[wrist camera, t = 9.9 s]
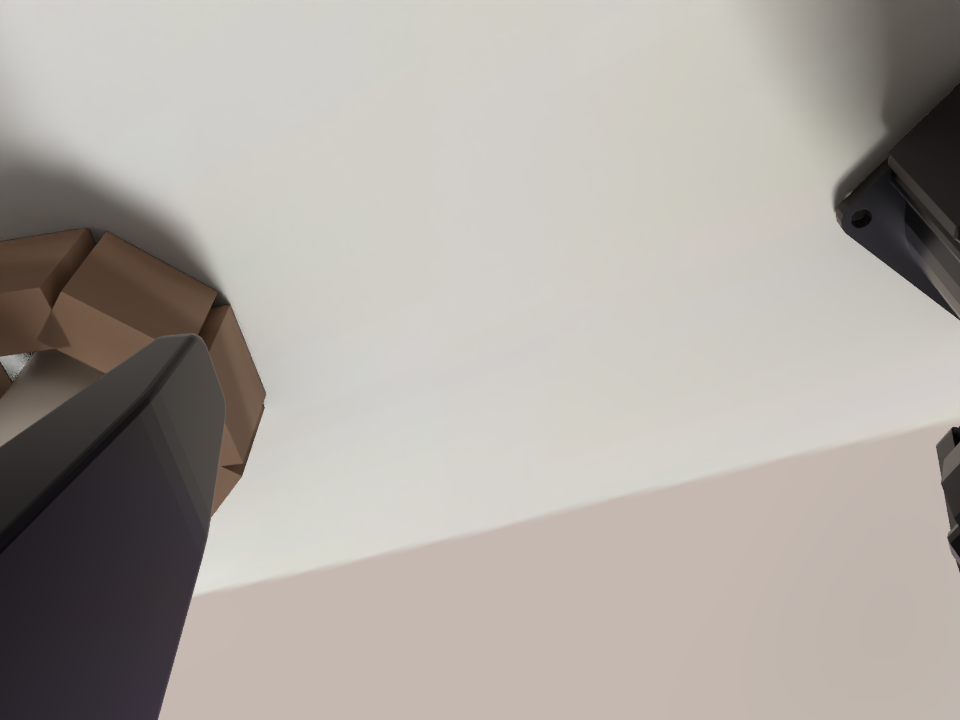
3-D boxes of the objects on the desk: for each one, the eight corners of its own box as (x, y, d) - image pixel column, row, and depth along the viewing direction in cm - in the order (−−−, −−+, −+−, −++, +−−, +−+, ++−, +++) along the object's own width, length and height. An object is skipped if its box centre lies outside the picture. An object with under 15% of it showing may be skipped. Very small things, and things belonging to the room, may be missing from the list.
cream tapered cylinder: (185, 360, 26) (-32, 807, 15) (137, 437, 27) (-88, 886, 17) (64, 298, 24) (-264, 737, 14) (22, 382, 26) (-299, 829, 16)
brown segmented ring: (311, 342, 25) (292, 408, 23) (181, 522, 29) (153, 594, 27) (-5, 171, 22) (-66, 227, 20) (-98, 399, 26) (-158, 468, 24)
